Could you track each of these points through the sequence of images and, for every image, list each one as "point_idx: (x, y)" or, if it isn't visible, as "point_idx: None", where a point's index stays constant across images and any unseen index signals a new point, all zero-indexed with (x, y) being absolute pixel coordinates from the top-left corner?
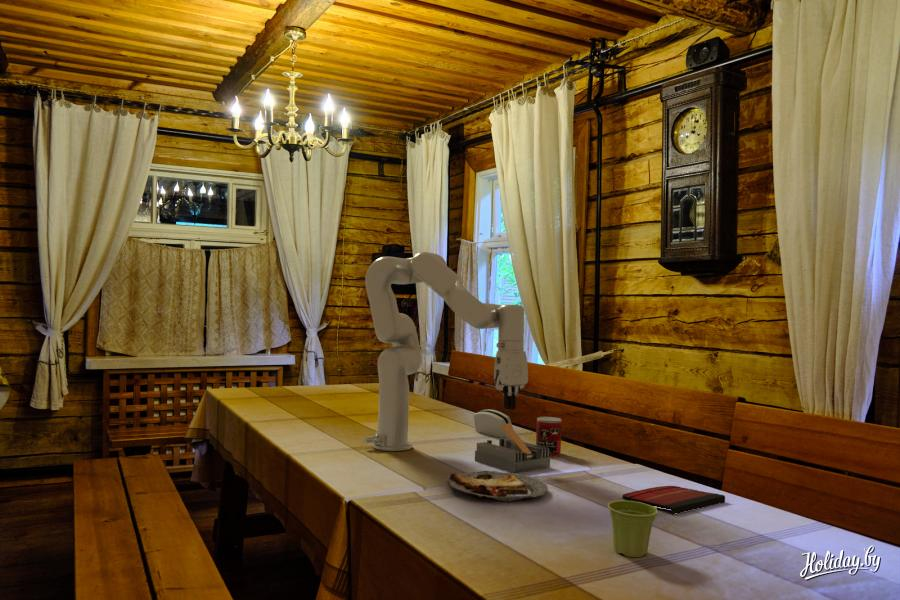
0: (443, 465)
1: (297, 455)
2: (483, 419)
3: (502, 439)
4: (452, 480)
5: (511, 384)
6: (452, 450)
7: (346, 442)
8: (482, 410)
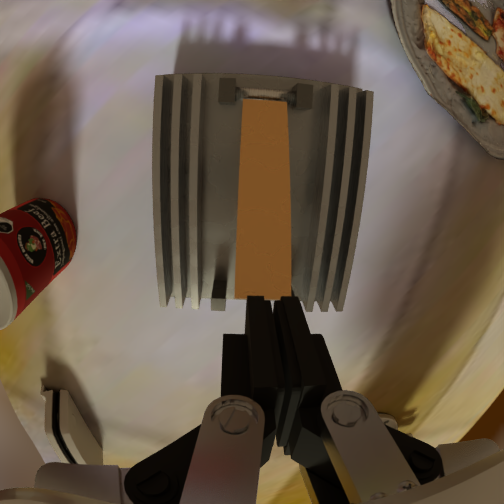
0: (424, 286)
1: (478, 414)
2: (93, 460)
3: (220, 298)
4: None
5: (478, 481)
6: None
7: None
8: None
